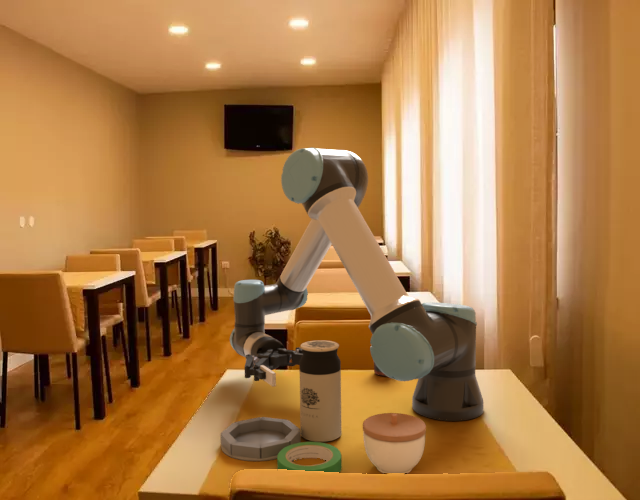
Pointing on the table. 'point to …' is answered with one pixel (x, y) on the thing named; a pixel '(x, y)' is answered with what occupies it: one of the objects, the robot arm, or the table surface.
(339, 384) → the travel mug
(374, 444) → the lidded jar
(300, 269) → the robot arm
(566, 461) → the table surface
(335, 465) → the tape roll
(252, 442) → the socket ring
